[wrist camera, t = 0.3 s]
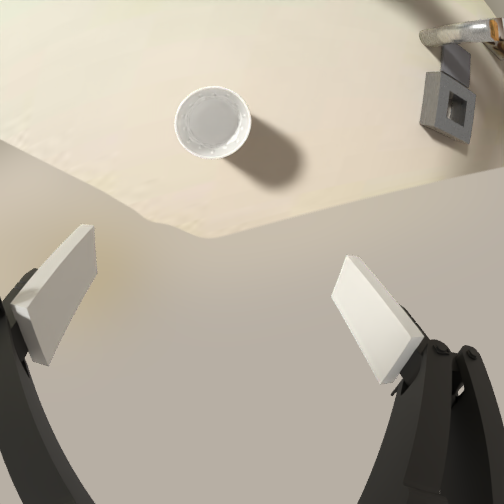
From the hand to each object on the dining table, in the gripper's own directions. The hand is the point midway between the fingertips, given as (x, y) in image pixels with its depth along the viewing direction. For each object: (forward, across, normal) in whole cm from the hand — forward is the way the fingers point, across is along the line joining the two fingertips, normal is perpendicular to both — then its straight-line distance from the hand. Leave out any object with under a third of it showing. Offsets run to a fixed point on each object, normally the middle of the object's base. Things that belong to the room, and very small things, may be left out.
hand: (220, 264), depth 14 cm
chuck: (+28, +36, +20) cm, 50 cm away
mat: (+28, +38, +31) cm, 56 cm away
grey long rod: (+28, +30, +32) cm, 52 cm away
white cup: (+28, -2, +6) cm, 29 cm away
